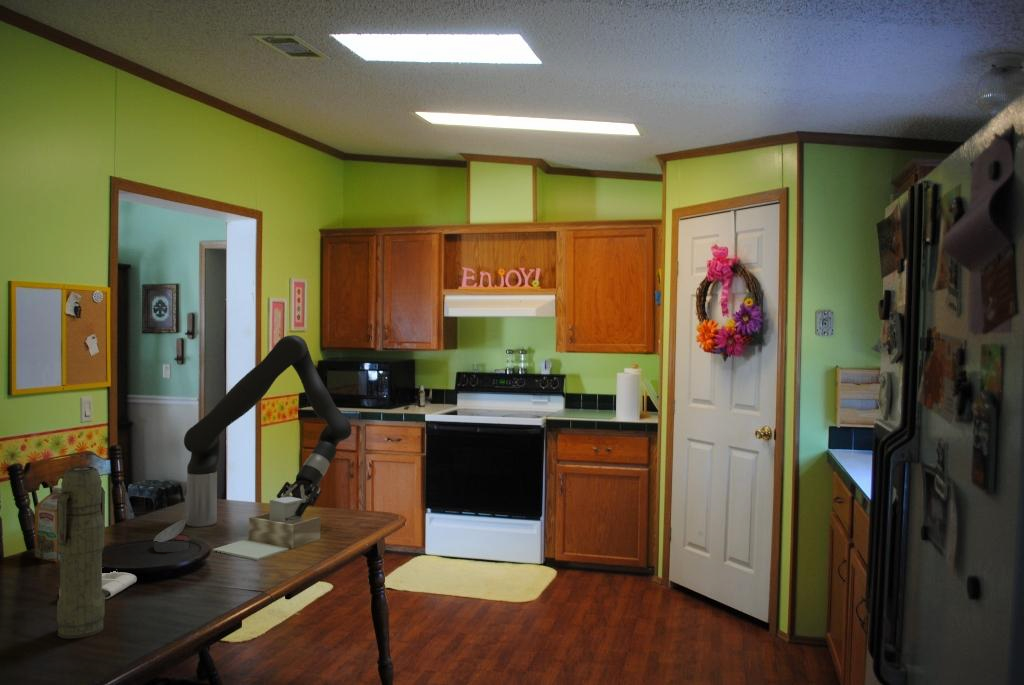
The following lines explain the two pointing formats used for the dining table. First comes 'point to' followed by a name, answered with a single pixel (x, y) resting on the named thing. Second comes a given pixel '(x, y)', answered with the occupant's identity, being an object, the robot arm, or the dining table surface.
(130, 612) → the dining table surface
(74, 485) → the thermos
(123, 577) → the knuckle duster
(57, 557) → the milk carton
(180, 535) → the canned food
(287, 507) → the supplement box
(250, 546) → the mat
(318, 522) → the box
